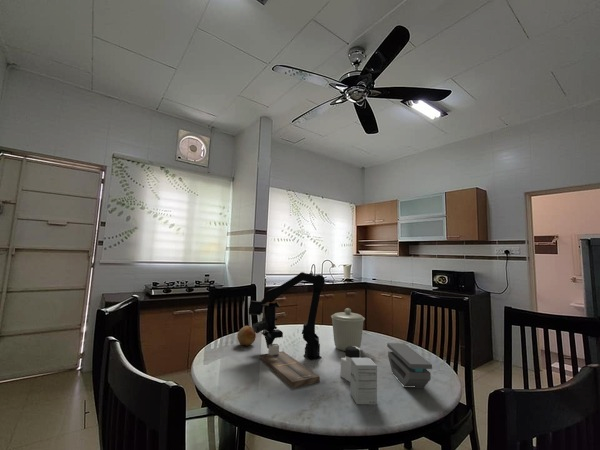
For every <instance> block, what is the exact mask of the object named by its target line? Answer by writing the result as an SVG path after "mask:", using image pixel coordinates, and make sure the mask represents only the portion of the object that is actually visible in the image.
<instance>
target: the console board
mask: <svg viewBox="0 0 600 450" xmlns="http://www.w3.org/2000/svg"><path fill="white" fill-rule="evenodd" d="M259 360H260V361H261V362H262V363H263V364H264V365H266V366H267V367H268V368H269V369H270V370H271V371H272V372H274V373H275V374H276V375H277V376H278V377H280V378H281V380H282V381H284V382H285V383H286V384H287V385H289V386H290V387H291V388H292V389H293V388H298V387H299V388H300V387H304V386H307V385H308V386H309V385H312V384H315V383H319V382H321V381H320V380H321V377H320V375H319V374H317V373H316V372H314V371H313V370H312V369H310V368H308V367H307V366H305V365H304V364H302V362H300V361H298V360H296V359H295V358H294V357H292V356H291V355H290V354H288V353H286V352H285V351H284V350H283V351H279V354H277V355H270V354H268V353H262V354H259Z"/></svg>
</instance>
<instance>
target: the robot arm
mask: <svg viewBox="0 0 600 450" xmlns="http://www.w3.org/2000/svg"><path fill="white" fill-rule="evenodd" d="M301 282H306V283H309V284H312V297H311V302H310V307H309V313H308V317H307V321H306V322H303V326H302V327H303V328H302V331H301V335H302V339H303V340H304V341H305V342H306V343H305V347H304V354H303V357H305V358H306V359H308V360H309V361H310V360H311V361H312V360H318V359H322V356H320V354H321V353H320V352H321V349H320V348H321V344H320V337H319V336H318V334H316V318H317V312H318V309H319V303H320V302H319V301H320V297H321V293H322V292H323V288H324V287H325V283H326V281H325V277H324V276H323V275H322V274H320V273H318V274H316V275H315V274H311V273H307V272H304V271H301V272H300V273H298V274H297V275H296V276H294V277H292V278H291V279H289V280H287V281H286V282H284V283H282V284H281V285H279V286H276V287H273V288H270V289H268V290H267V291H265V293H264V295H263V298H262V300H261V301H260V300H257V301H256V300H251V301H250V303H249V306H248V315H251V316H261V315H262V314H264V315H263V316H262V318H261V320H260V321H258V322H256V323H253V324H252V325H251V327H252V328H253V330H254V332H255V333H256V334H259V333H261V335H263V337H264V339H265V343H266V348H267V349H268V350H269V345H270V344H274V342H275V339H278V338H279V339H280V338H283V336H284V332H283V331H282V330H280V329H277V328H278V326H276V321H278V318H277V308H279V307H281V304H280V302H278V301H275V300H276V299H278V298H279V297H280V296H281V295H282V294H283V293H285V292H287V291H288V290H290V289H292V288H293V287H295V286H297V284H299V283H301ZM274 301H275V302H274Z"/></svg>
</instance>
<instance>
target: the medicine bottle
mask: <svg viewBox="0 0 600 450" xmlns="http://www.w3.org/2000/svg"><path fill="white" fill-rule="evenodd" d="M360 348H361V347H360ZM360 348H358V347H356V346H348V347H346V348H345V351H344V352H345V354H344V355H345V356H344V357H341V358H340V377H342V379H344V380H345V381H347V382H349V383H350V382H351V358H361V349H360Z"/></svg>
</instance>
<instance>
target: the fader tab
mask: <svg viewBox="0 0 600 450" xmlns="http://www.w3.org/2000/svg"><path fill="white" fill-rule="evenodd" d="M279 352H280V345H279V344H278V343H272V344H270V345H269V349H268V351H267V354H270V355H277V354H279Z"/></svg>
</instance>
